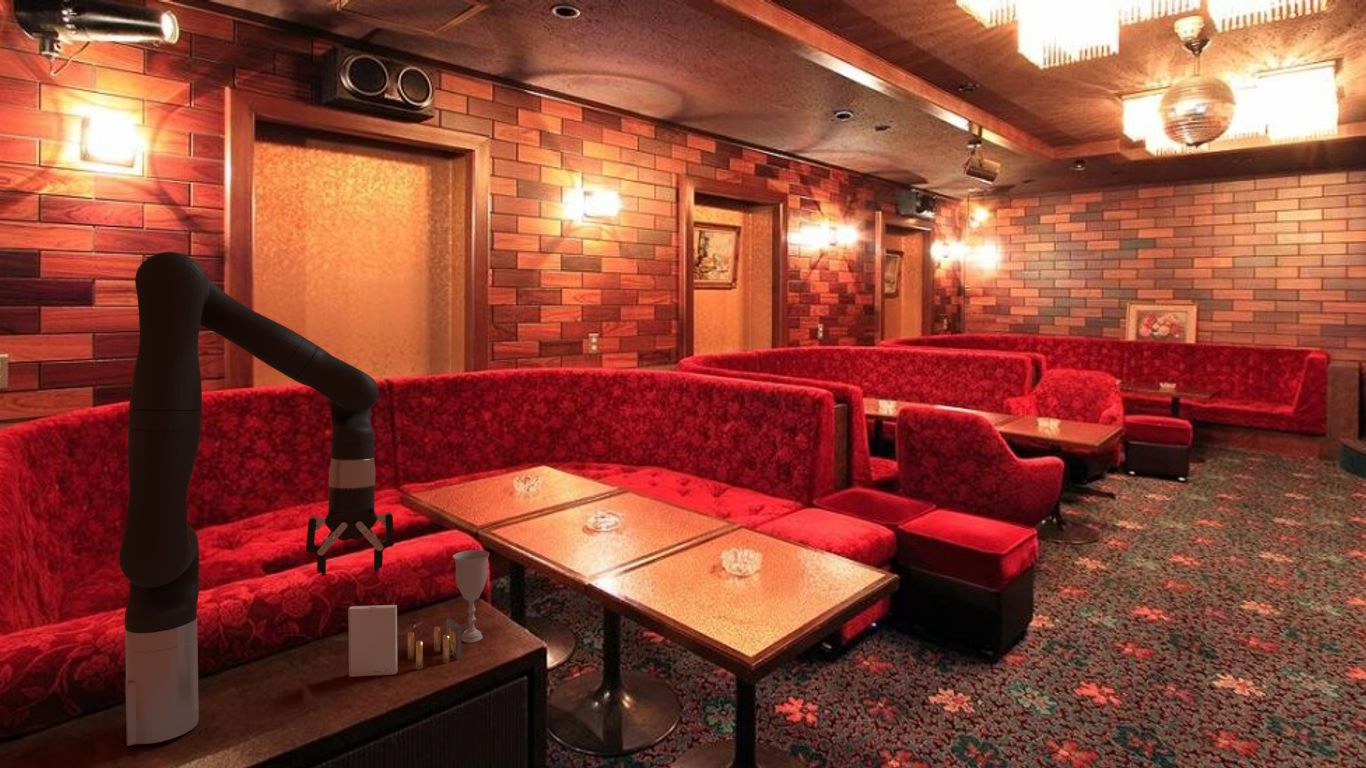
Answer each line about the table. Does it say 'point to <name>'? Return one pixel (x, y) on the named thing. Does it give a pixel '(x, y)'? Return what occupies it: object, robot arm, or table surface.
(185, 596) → the robot arm
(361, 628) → the external hard drive
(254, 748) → the table surface
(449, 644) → the candles
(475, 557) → the chalice
